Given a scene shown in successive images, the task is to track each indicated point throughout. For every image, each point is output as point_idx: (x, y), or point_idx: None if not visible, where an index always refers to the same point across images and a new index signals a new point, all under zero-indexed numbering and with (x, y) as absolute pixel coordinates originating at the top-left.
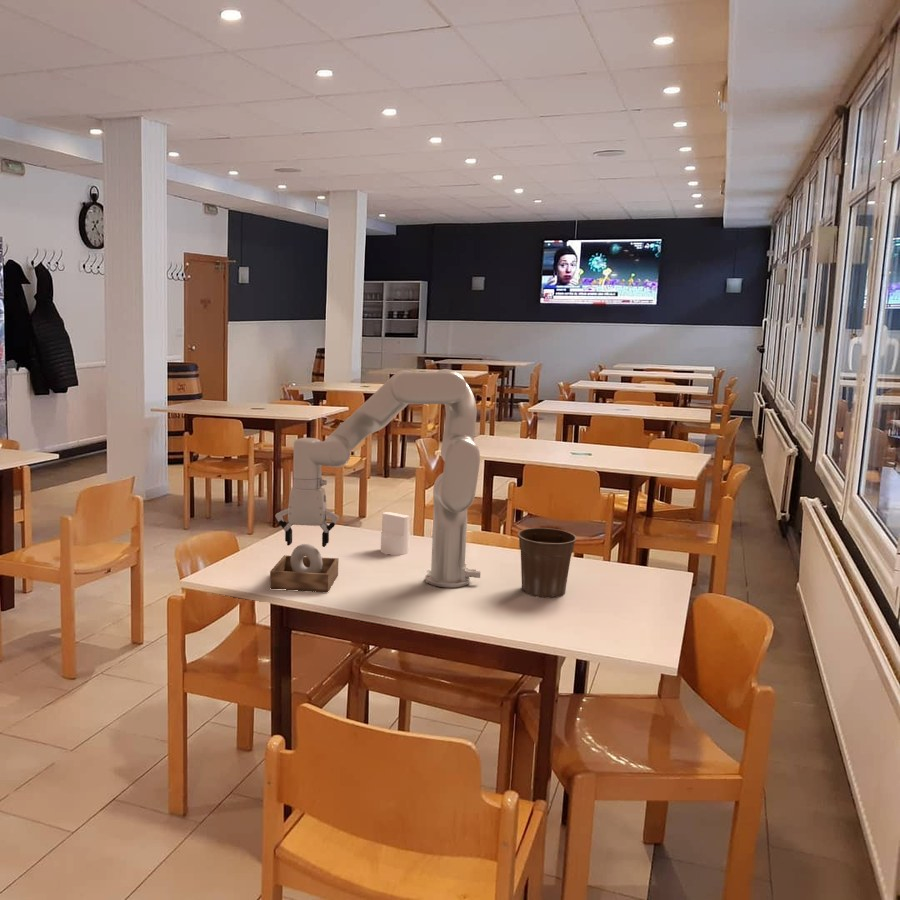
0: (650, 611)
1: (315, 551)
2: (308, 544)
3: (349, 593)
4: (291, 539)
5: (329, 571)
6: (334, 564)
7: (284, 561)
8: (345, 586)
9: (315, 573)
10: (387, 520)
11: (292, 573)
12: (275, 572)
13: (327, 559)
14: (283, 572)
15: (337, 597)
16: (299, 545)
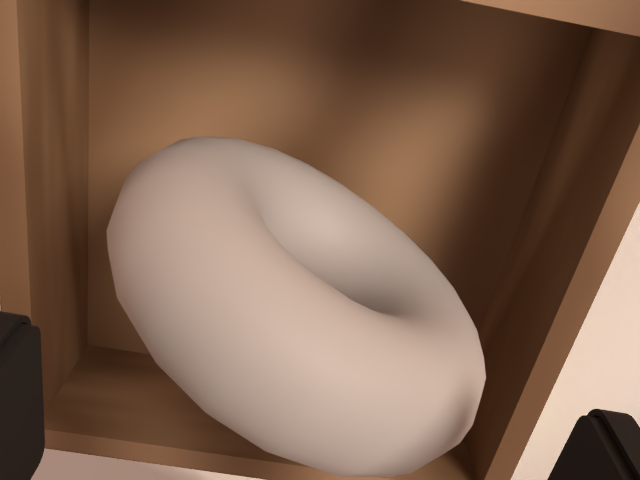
0: None
1: (420, 467)
2: (326, 428)
3: None
4: (8, 406)
5: (517, 446)
6: (608, 262)
7: (37, 15)
8: (610, 290)
9: None
10: None
11: (204, 464)
12: (60, 445)
13: (572, 21)
14: (127, 458)
15: None
16: (185, 365)
